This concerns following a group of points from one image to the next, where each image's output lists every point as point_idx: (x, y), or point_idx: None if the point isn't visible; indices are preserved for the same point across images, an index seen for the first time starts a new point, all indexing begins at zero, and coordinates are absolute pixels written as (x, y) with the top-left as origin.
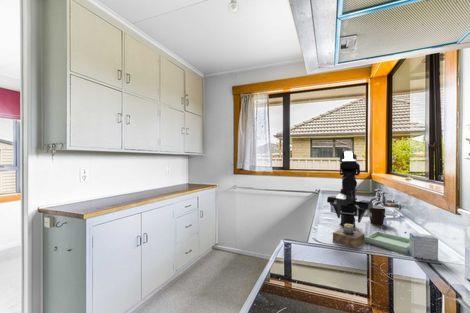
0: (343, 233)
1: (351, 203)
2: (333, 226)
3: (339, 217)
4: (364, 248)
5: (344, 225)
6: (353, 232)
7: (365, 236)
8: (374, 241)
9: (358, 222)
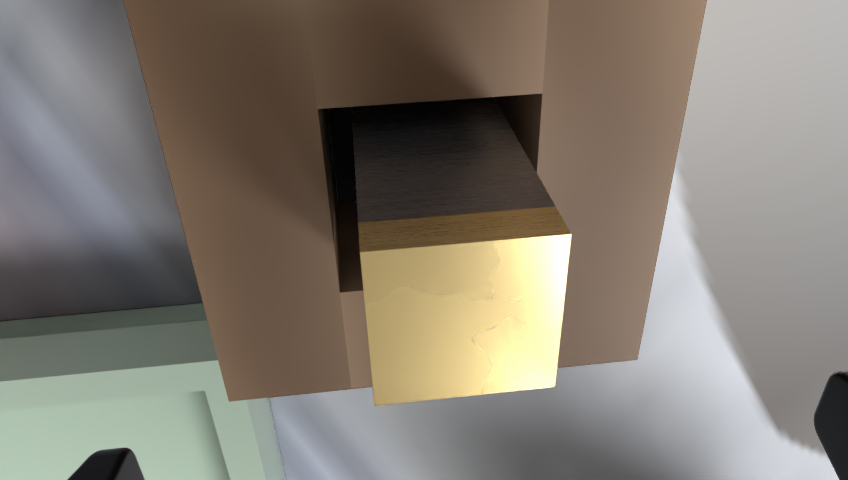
0: (493, 76)
1: None
2: (818, 473)
3: (832, 420)
4: (56, 46)
5: (541, 219)
6: None
7: None
8: (77, 351)
9: (110, 452)
